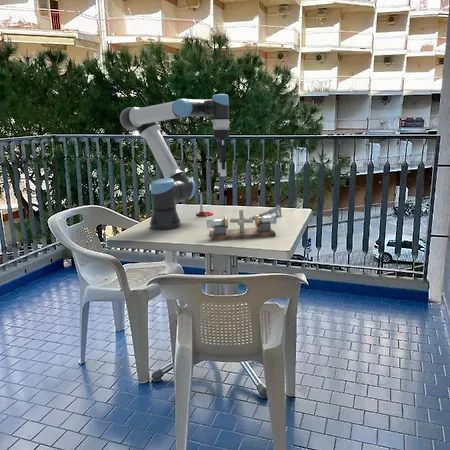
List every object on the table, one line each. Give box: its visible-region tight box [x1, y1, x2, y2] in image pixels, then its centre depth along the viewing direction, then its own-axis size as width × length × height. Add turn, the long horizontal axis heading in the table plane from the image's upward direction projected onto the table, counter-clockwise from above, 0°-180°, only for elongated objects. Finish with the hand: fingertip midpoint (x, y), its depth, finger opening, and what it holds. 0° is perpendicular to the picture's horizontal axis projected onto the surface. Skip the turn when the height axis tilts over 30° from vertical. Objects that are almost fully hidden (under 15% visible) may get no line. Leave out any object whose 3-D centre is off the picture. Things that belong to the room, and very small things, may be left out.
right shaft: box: [254, 214, 277, 232], centre depth 190 cm, size 9×6×7 cm, turn 98°
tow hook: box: [195, 192, 214, 217], centre depth 235 cm, size 8×13×9 cm
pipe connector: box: [229, 208, 254, 232], centre depth 188 cm, size 10×10×10 cm
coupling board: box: [208, 226, 277, 242], centre depth 190 cm, size 28×12×2 cm, turn 98°
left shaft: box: [206, 216, 229, 235], centre depth 187 cm, size 9×6×7 cm, turn 98°
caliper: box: [248, 204, 282, 220], centre depth 222 cm, size 20×1×6 cm, turn 117°
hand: (222, 174), depth 202 cm, fingers open, 13 cm apart
